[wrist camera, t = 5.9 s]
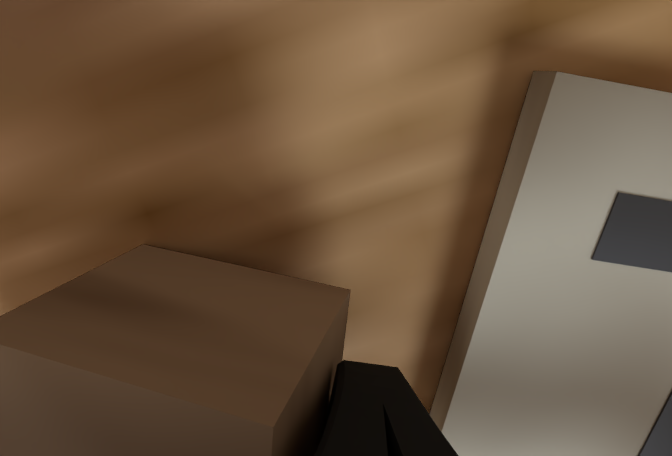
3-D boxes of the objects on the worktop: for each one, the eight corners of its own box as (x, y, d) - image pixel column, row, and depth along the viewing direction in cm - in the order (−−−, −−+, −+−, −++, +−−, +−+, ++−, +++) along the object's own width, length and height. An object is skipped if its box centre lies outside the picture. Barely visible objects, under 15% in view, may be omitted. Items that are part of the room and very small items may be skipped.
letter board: (718, 617, 15) (745, 655, 14) (378, 584, 14) (381, 621, 14) (1042, 166, 10) (1120, 177, 9) (533, 71, 9) (558, 71, 8)
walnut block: (328, 471, 11) (258, 668, 7) (152, 415, 12) (14, 560, 8) (350, 289, 9) (272, 427, 6) (142, 244, 10) (-35, 334, 7)
